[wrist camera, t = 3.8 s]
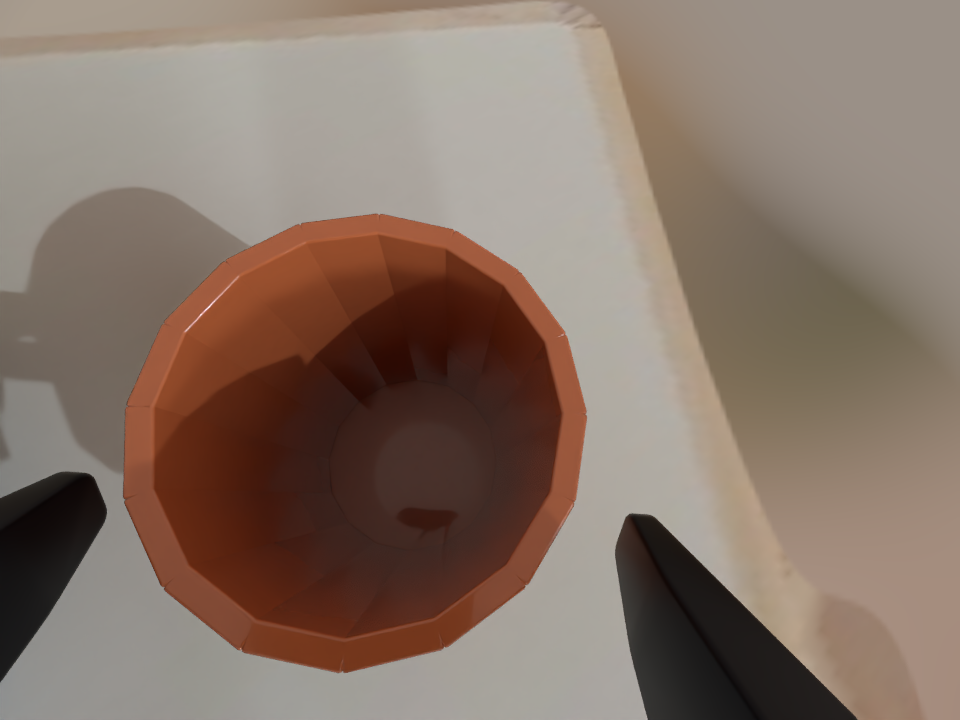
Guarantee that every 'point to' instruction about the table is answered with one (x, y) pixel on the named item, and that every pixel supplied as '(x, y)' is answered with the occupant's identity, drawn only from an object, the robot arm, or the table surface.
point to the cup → (353, 442)
